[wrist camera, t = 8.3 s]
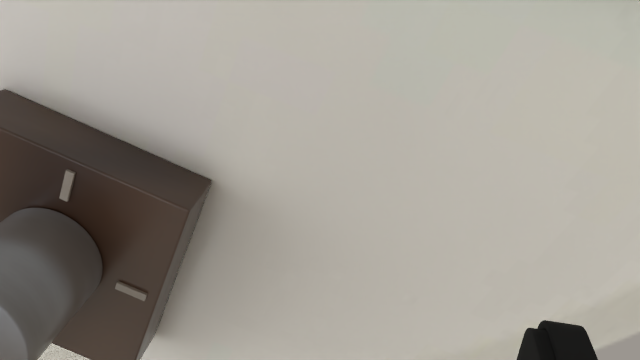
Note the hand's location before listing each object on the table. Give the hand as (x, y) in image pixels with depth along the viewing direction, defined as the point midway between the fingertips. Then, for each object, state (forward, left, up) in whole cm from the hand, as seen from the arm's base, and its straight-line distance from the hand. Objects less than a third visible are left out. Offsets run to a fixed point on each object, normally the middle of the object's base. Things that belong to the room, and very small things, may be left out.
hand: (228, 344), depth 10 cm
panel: (-4, +14, -16) cm, 21 cm away
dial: (-4, +14, -13) cm, 19 cm away
